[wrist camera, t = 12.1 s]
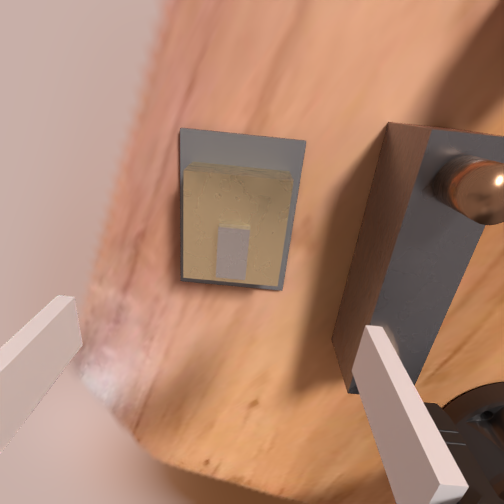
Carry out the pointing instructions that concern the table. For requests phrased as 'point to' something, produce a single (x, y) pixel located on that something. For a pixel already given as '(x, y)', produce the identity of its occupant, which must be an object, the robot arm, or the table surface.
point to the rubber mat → (246, 155)
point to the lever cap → (234, 222)
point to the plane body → (418, 238)
